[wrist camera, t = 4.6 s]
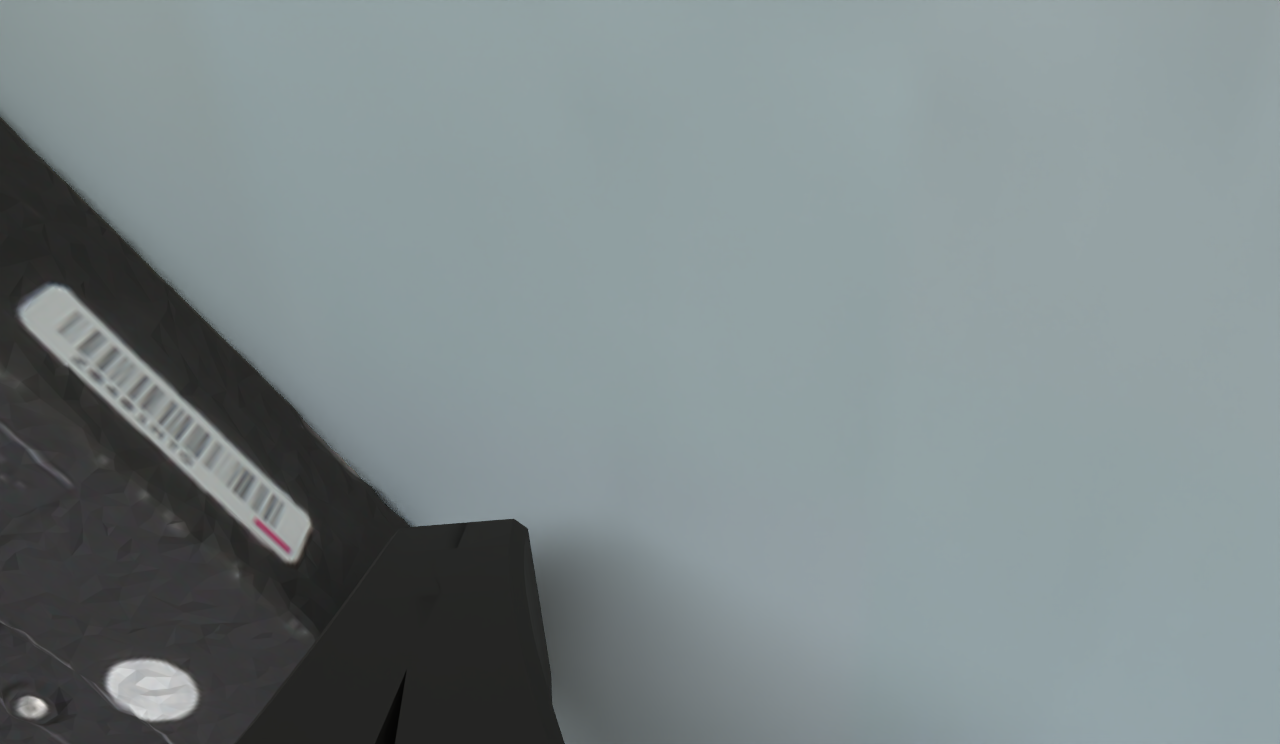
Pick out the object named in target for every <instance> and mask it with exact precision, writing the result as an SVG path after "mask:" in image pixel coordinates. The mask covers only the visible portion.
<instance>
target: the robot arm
mask: <svg viewBox="0 0 1280 744" xmlns="http://www.w3.org/2000/svg"><path fill="white" fill-rule="evenodd" d="M234 744H565V743H564V740H563V737H562V734H561V731H560V728H559V725H558V722H557V719H556V715H555V712H554V709H553V706H552V690H551V671H550V665H549V659H548V652H547V646H546V640H545V633H544V627H543V621H542V615H541V608H540V602H539V596H538V590H537V583H536V577H535V571H534V565H533V558H532V552H531V546H530V540H529V533H528V529H527V528H526V527H525V526H523V525H522V524H520V523H519V522H518V521H516V520H515V519H506V520H493V521H481V522H468V523H456V524H443V525H431V526H418V527H406V528H400V529H399V530H398V531H397V532H396V533H395V534H394V535H393V536H392V537H391V538H390V540H389V541H388V542H387V544H386V545H385V547H384V548H383V549H382V551H381V552H380V553H379V555H378V556H377V558H376V559H375V560H374V562H373V563H372V565H371V566H370V567H369V569H368V570H367V572H366V573H365V574H364V576H363V577H362V579H361V580H360V581H359V583H358V584H357V585H356V587H355V588H354V590H353V591H352V592H351V594H350V595H349V597H348V598H347V599H346V601H345V602H344V603H343V605H342V606H341V608H340V609H339V610H338V612H337V613H336V614H335V616H334V617H333V618H332V620H331V621H330V622H329V624H328V625H327V626H326V628H325V629H324V630H323V632H322V633H321V635H320V636H319V637H318V639H317V640H316V641H315V643H314V644H313V645H312V647H311V648H310V649H309V650H308V652H307V653H306V654H305V655H304V657H303V658H302V659H301V661H300V662H299V663H298V664H297V666H296V667H295V668H294V670H293V671H292V672H291V673H290V675H289V676H288V677H287V679H286V680H285V681H284V682H283V684H282V685H281V686H280V687H279V689H278V690H277V691H276V693H275V694H274V695H273V696H272V698H271V699H270V700H269V702H268V703H267V704H266V705H265V707H264V708H263V709H262V711H261V712H260V713H259V714H258V715H257V717H256V718H255V719H254V720H253V722H252V723H251V724H250V725H249V727H248V728H247V729H246V730H245V731H244V733H243V734H242V735H241V736H240V737H239V738H238V740H237V741H236V742H235V743H234Z"/></svg>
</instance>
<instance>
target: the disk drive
mask: <svg viewBox="0 0 1280 744" xmlns="http://www.w3.org/2000/svg"><path fill="white" fill-rule="evenodd" d="M406 527H410V526H409V525H408V524H407V523H406V522H405V521H404V519H402V518H401V517H400V516H398V515H397V514H396V513H394V512H393V511H392V510H391V509H390V508H389V507H387V506H386V505H385V504H384V503H383V502H382V501H381V500H380V499H379V497H378V496H377V494H376V493H375V491H374V490H373V488H372V487H370V486H369V485H368V484H367V483H365V482H364V481H363V480H361V479H360V477H359V476H358V475H357V473H356V472H355V471H354V470H353V469H352V468H351V467H349V466H348V465H347V464H346V462H345V461H344V460H343V459H342V458H341V457H340V456H339V454H337V453H336V452H335V451H333V450H332V449H331V448H330V447H329V446H328V445H327V444H326V443H325V441H324V440H323V439H322V438H321V437H320V436H319V435H318V434H316V433H315V432H314V431H313V430H312V428H311V427H310V426H309V425H308V424H307V423H306V422H305V421H304V420H303V419H302V418H301V416H300V415H299V414H298V413H297V411H296V410H295V409H294V408H293V407H292V406H291V405H290V404H289V403H288V402H287V401H286V400H285V399H284V398H283V397H282V396H281V395H280V394H279V393H278V392H276V391H275V390H274V389H273V388H272V387H271V386H270V385H269V383H268V382H267V381H266V380H265V379H264V378H263V377H262V376H261V375H260V374H259V373H258V372H257V371H256V370H255V369H254V368H253V367H252V366H251V365H250V364H249V363H248V362H247V361H246V360H245V359H244V358H243V357H242V356H241V355H240V354H239V353H238V352H236V351H235V350H234V349H233V348H232V347H231V346H230V345H229V344H228V343H227V342H226V341H225V340H224V339H223V338H222V337H221V336H220V335H219V334H218V333H217V332H216V331H215V330H214V329H213V328H212V327H211V326H210V325H209V324H208V323H207V322H206V321H205V320H204V319H203V318H202V317H201V316H200V315H199V314H198V313H197V312H196V311H195V310H194V309H193V308H192V307H191V306H190V305H189V304H188V303H187V302H186V301H185V300H184V299H183V298H182V297H180V296H179V295H178V294H177V293H176V292H175V291H174V289H173V288H172V287H171V286H169V285H168V284H167V283H166V282H165V281H164V280H163V279H162V278H161V277H160V276H159V275H158V274H157V273H156V272H155V271H154V270H153V269H152V268H151V267H150V266H149V265H148V264H147V263H146V262H145V261H144V260H143V259H142V258H141V257H140V256H139V255H138V254H137V253H136V252H135V251H134V250H133V249H132V248H131V247H130V246H129V245H128V244H127V243H126V242H125V241H124V240H123V239H122V238H121V237H120V236H119V235H118V234H117V233H116V232H115V231H114V230H113V228H111V227H110V226H109V225H108V224H107V223H106V222H105V221H104V220H103V219H102V218H101V217H100V216H99V215H98V214H97V213H96V212H95V211H94V210H93V209H92V208H91V207H90V206H89V205H88V204H87V203H86V202H85V201H84V200H83V199H82V198H81V197H80V196H79V195H77V194H76V193H75V192H74V190H73V189H72V188H71V187H70V186H69V185H68V184H67V183H66V182H65V181H63V180H62V179H61V178H60V177H59V176H58V175H57V174H56V173H55V172H54V171H53V170H52V169H51V168H50V167H49V166H48V165H47V164H46V163H45V162H44V161H43V160H42V159H41V158H40V157H39V156H38V155H37V154H36V153H35V152H34V151H33V150H32V149H31V148H30V147H29V146H28V145H27V144H26V143H25V142H24V141H23V140H22V139H21V138H20V137H19V136H18V135H17V134H16V133H15V132H14V131H13V130H12V128H11V127H10V126H9V125H8V124H7V123H6V122H5V121H4V120H3V119H2V118H1V117H0V744H234V743H235V742H236V741H237V740H238V738H239V737H240V736H241V735H242V734H243V733H244V731H245V730H246V729H247V728H248V727H249V725H250V724H251V723H252V722H253V720H254V719H255V718H256V717H257V715H258V714H259V713H260V712H261V711H262V709H263V708H264V707H265V705H266V704H267V703H268V702H269V700H270V699H271V698H272V696H273V695H274V694H275V693H276V691H277V690H278V689H279V687H280V686H281V685H282V684H283V682H284V681H285V680H286V679H287V677H288V676H289V675H290V673H291V672H292V671H293V670H294V668H295V667H296V666H297V664H298V663H299V662H300V661H301V659H302V658H303V657H304V655H305V654H306V653H307V652H308V650H309V649H310V648H311V647H312V645H313V644H314V643H315V641H316V640H317V639H318V637H319V636H320V635H321V633H322V632H323V630H324V629H325V628H326V626H327V625H328V624H329V622H330V621H331V620H332V618H333V617H334V616H335V614H336V613H337V612H338V610H339V609H340V608H341V606H342V605H343V603H344V602H345V601H346V599H347V598H348V597H349V595H350V594H351V592H352V591H353V590H354V588H355V587H356V585H357V584H358V583H359V581H360V580H361V579H362V577H363V576H364V574H365V573H366V572H367V570H368V569H369V567H370V566H371V565H372V563H373V562H374V560H375V559H376V558H377V556H378V555H379V553H380V552H381V551H382V549H383V548H384V547H385V545H386V544H387V542H388V541H389V540H390V538H391V537H392V536H393V535H394V534H395V533H396V532H397V531H398V530H399V529H400V528H406Z"/></svg>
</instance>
